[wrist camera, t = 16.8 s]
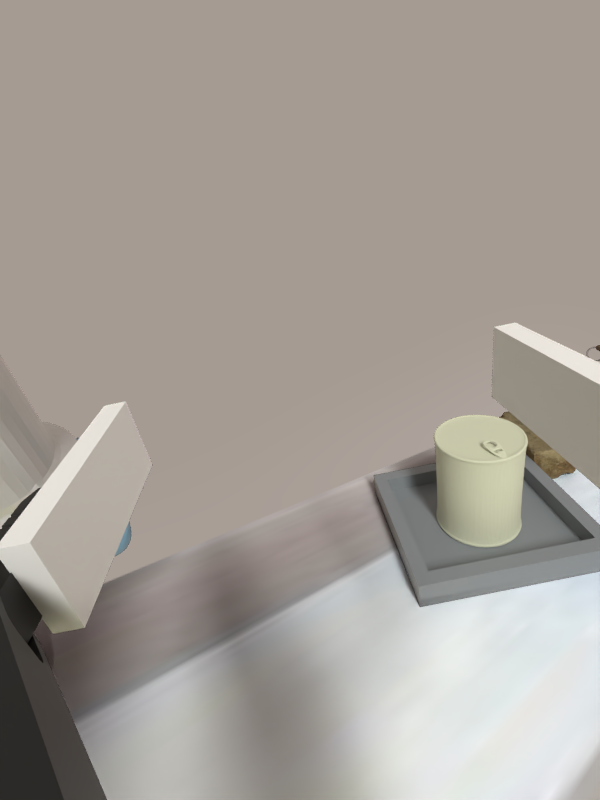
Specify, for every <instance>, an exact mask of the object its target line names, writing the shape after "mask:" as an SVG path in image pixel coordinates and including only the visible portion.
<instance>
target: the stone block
mask: <svg viewBox="0 0 600 800" xmlns="http://www.w3.org/2000/svg"><path fill="white" fill-rule="evenodd" d="M499 418H502V419H505V420H508V421H510V422H512V423H514V424H516V425H517V426H519V427H520V428H521V429H522V430H523V431H524V432H525V434H526V436H527V439H528V445H527V449H526V455H527V456H528V457H529V458H530V459H532V460H533V461H534V462H535V463H536V464H537V465H538V466H539V467H540V468H541V469H542V470H543V471H544V472H545V473H546V474H547V475H548V476H549V477H550V478H551V479H553V478H558V477H559V476H560V475H562V474H565V473H573V472H574V471H575V469H576V468H575V467H574V466H572V465H571V464H570V463H569V462H568V461H567V460H565V459H564V458H563V457H562V456H561V455H560V454H558V453H557V452H556V451H555V450H554V449H552V448H551V447H550V446H549V445H548V444H547V443H545V442H544V441H543V440H542V439H541V438H540V437H538V436H537V435H536V434H535V433H534V432H533V431H531V430H530V429H529V428H528V427H527V426H525V425H524V424H523V423H522V422H521V421H520V420H518V419H517V418H516V417H515V416H514V415H513V414H511V413H510V412H504V413H503V415H502V416H501V417H499Z"/></svg>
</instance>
